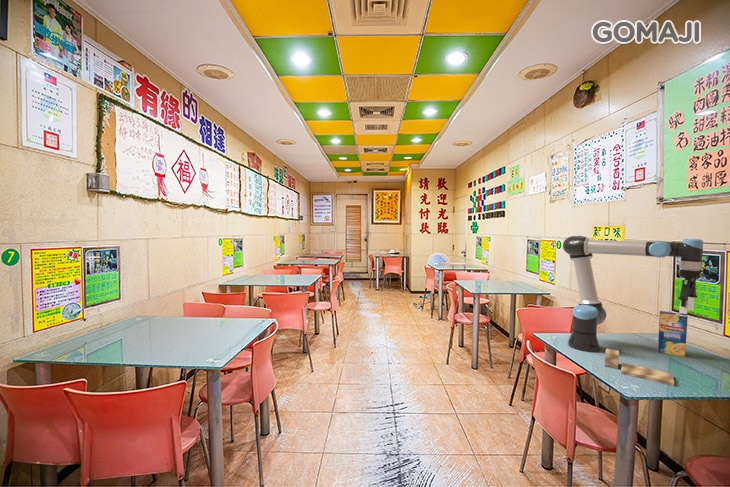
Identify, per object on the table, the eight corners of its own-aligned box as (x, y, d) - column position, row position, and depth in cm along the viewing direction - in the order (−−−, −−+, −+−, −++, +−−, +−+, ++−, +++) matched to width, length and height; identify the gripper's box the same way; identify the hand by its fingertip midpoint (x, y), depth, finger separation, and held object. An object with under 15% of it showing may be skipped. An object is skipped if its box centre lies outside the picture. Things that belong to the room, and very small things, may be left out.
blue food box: (685, 357, 174) (687, 316, 173) (657, 351, 181) (660, 312, 180) (684, 353, 179) (686, 314, 178) (657, 348, 186) (659, 310, 185)
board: (621, 373, 152) (621, 370, 151) (622, 365, 161) (622, 362, 161) (674, 386, 140) (674, 382, 140) (671, 376, 149) (672, 373, 149)
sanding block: (604, 366, 160) (605, 352, 159) (606, 361, 166) (606, 348, 165) (617, 369, 156) (618, 355, 156) (618, 364, 162) (619, 350, 162)
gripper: (694, 272, 152) (690, 316, 153) (706, 269, 166) (702, 310, 167) (673, 270, 158) (669, 312, 159) (686, 267, 172) (682, 306, 173)
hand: (686, 311), depth 163 cm, fingers open, 13 cm apart
